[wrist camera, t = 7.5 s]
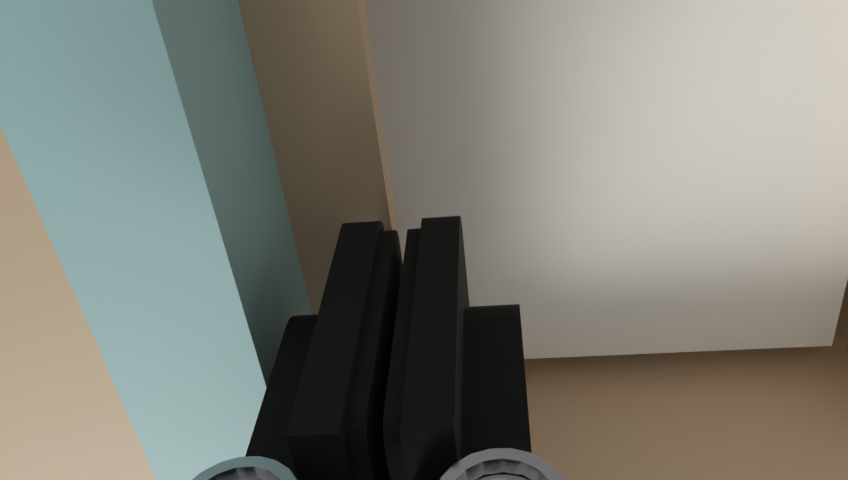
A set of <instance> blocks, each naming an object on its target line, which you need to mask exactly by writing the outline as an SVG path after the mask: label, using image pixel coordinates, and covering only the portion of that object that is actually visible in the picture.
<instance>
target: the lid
mask: <svg viewBox="0 0 848 480" xmlns="http://www.w3.org/2000/svg"><path fill="white" fill-rule="evenodd" d="M368 221H382V223H383V226H384V230H397V232H398V236H399V230H398V223H397V217H396V210H395V203H394V196H393V190H392V183H391V176H390V169H389V163H388V156H387V149H386V142H385V136H384V129H383V122H382V115H381V109H380V102H379V95H378V88H377V82H376V75H375V68H374V61H373V55H372V48H371V41H370V34H369V28H368V21H367V14H366V7H365V1H364V0H0V480H192V479H193V478H195V477H196V476H197V475H198V474H199V473H201V472H202V471H204V470H206V469H208V468H210V467H212V466H214V465H216V464H218V463H219V462H223V461H226V460H230V459H233V458H237V457H245V455H246V452H247V449H248V446H249V443H250V439H251V436H252V433H253V430H254V427H255V423H256V420H257V417H258V414H259V411H260V407H261V404H262V401H263V398H264V395H265V391H266V388H267V385H268V382H269V379H270V375H271V372H272V369H273V366H274V363H275V359H276V356H277V353H278V350H279V347H280V343H281V340H282V337H283V334H284V331H285V328H286V325H287V323H288V320H289V319H290V318H291V317H292V316H297V315H316V314H318V312H319V308H320V304H321V301H322V297H323V293H324V289H325V286H326V282H327V278H328V274H329V270H330V267H331V263H332V259H333V255H334V252H335V248H336V244H337V240H338V236H339V233H340V229H341V226H342V224H343V223H353V222H368ZM399 242H400V237H399ZM400 249H401V244H400ZM401 255H402V250H401ZM402 262H403V257H402Z"/></svg>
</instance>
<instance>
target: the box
mask: <svg viewBox="0 0 848 480" xmlns="http://www.w3.org/2000/svg"><path fill="white" fill-rule="evenodd" d="M364 1H365V7H366V14H367V21H368V28H369V34H370V41H371V48H372V55H373V61H374V68H375V75H376V82H377V88H378V95H379V102H380V109H381V115H382V122H383V129H384V136H385V142H386V149H387V156H388V163H389V169H390V176H391V183H392V190H393V196H394V203H395V210H396V217H397V223H398V230H399V237H400V244H401V250H402V257H403V259H404V252H405V244H406V236H407V230H408V229H417V228H421V221H422V218H432V217H447V216H461V222H462V231H463V241H464V252H465V263H466V273H467V284H468V295H469V305H470V307H473V306H492V305H512V304H519V305H520V316H521V328H522V340H523V353H524V365H525V377H526V390H527V402H528V414H529V426H530V439H531V451H532V453H533V454H535V455H536V456H538V457H540V458H542V459H544V460H546V461H548V462H549V463H550V464H551V465H552V466H553V467H555V468H556V469H557V470H558V471H559V472H560V473H561V474H562V475H563V477H564V479H565V480H848V0H364Z"/></svg>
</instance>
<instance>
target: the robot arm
mask: <svg viewBox="0 0 848 480" xmlns="http://www.w3.org/2000/svg"><path fill="white" fill-rule="evenodd" d="M192 480H565V479H564V477H563V475H562V474H561V473H560V472H559V471H558V470H557V469H556V468H555V467H553V466H552V465H551V464H550V463H549V462H548V461H546V460H544V459H542V458H540V457H538V456H536V455H535V454H533V453H532V451H531V439H530V426H529V414H528V402H527V390H526V377H525V365H524V353H523V340H522V328H521V316H520V305H519V304H512V305H492V306H473V307H470V305H469V295H468V284H467V273H466V263H465V252H464V241H463V231H462V222H461V216H447V217H432V218H422V221H421V228H417V229H408V230H407V236H406V244H405V252H404V259H403V262H402V255H401V249H400V242H399V236H398V232H397V230H384V226H383V223H382V221H368V222H353V223H343V224H342V226H341V229H340V233H339V236H338V240H337V244H336V248H335V252H334V255H333V259H332V263H331V267H330V270H329V274H328V278H327V282H326V286H325V289H324V293H323V297H322V301H321V304H320V308H319V312H318V314H316V315H297V316H292V317H291V318H290V319H289V320H288V323H287V325H286V328H285V331H284V334H283V337H282V340H281V343H280V347H279V350H278V353H277V356H276V359H275V363H274V366H273V369H272V372H271V375H270V379H269V382H268V385H267V388H266V391H265V395H264V398H263V401H262V404H261V407H260V411H259V414H258V417H257V420H256V423H255V427H254V430H253V433H252V436H251V439H250V443H249V446H248V449H247V452H246V455H245V457H237V458H233V459H230V460H226V461H223V462H219V463H218V464H216V465H214V466H212V467H210V468H208V469H206V470H204V471H202V472H201V473H199V474H198V475H197V476H196V477H195V478H193V479H192Z"/></svg>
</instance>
